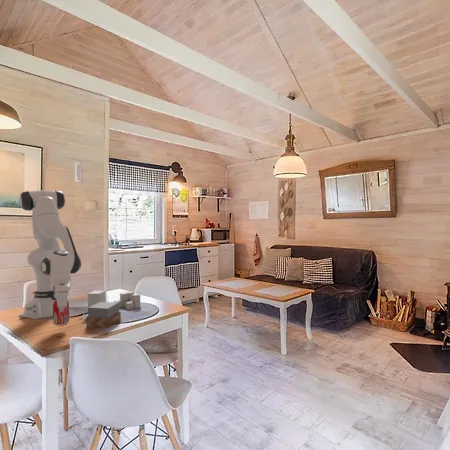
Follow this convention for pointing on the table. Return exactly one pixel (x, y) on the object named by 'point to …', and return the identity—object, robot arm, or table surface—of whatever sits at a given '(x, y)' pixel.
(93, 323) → the tower bottom
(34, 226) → the robot arm
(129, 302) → the puzzle cube
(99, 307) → the tower top
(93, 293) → the supplement box
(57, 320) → the soda can
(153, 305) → the table surface
